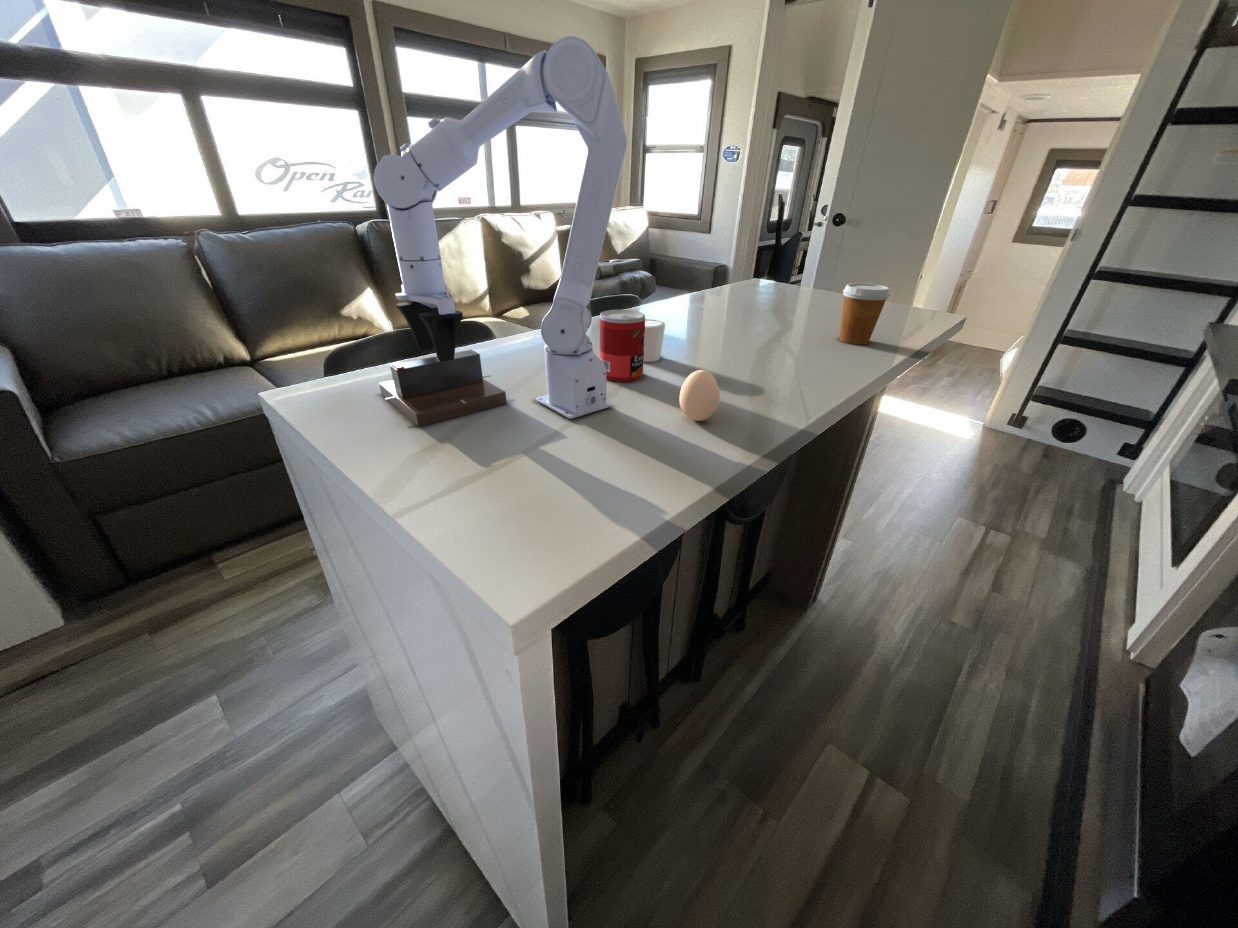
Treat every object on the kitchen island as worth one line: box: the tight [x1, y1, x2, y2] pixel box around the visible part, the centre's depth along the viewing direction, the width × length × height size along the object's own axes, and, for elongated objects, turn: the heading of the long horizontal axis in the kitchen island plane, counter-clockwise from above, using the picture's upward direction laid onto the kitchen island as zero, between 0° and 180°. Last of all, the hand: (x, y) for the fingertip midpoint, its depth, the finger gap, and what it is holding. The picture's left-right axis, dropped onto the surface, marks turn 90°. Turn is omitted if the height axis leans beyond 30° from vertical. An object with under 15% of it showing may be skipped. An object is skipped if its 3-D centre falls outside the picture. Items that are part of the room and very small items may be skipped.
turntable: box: [378, 374, 508, 428], centre depth 78 cm, size 17×17×2 cm
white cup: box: [643, 318, 666, 363], centre depth 98 cm, size 7×7×7 cm
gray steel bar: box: [389, 349, 484, 399], centre depth 76 cm, size 13×3×5 cm, turn 130°
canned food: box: [599, 309, 646, 383], centre depth 87 cm, size 8×8×11 cm
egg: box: [678, 369, 721, 422], centre depth 71 cm, size 6×6×8 cm
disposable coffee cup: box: [838, 282, 891, 345], centre depth 110 cm, size 10×10×12 cm
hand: (436, 354), depth 75 cm, fingers open, 7 cm apart
